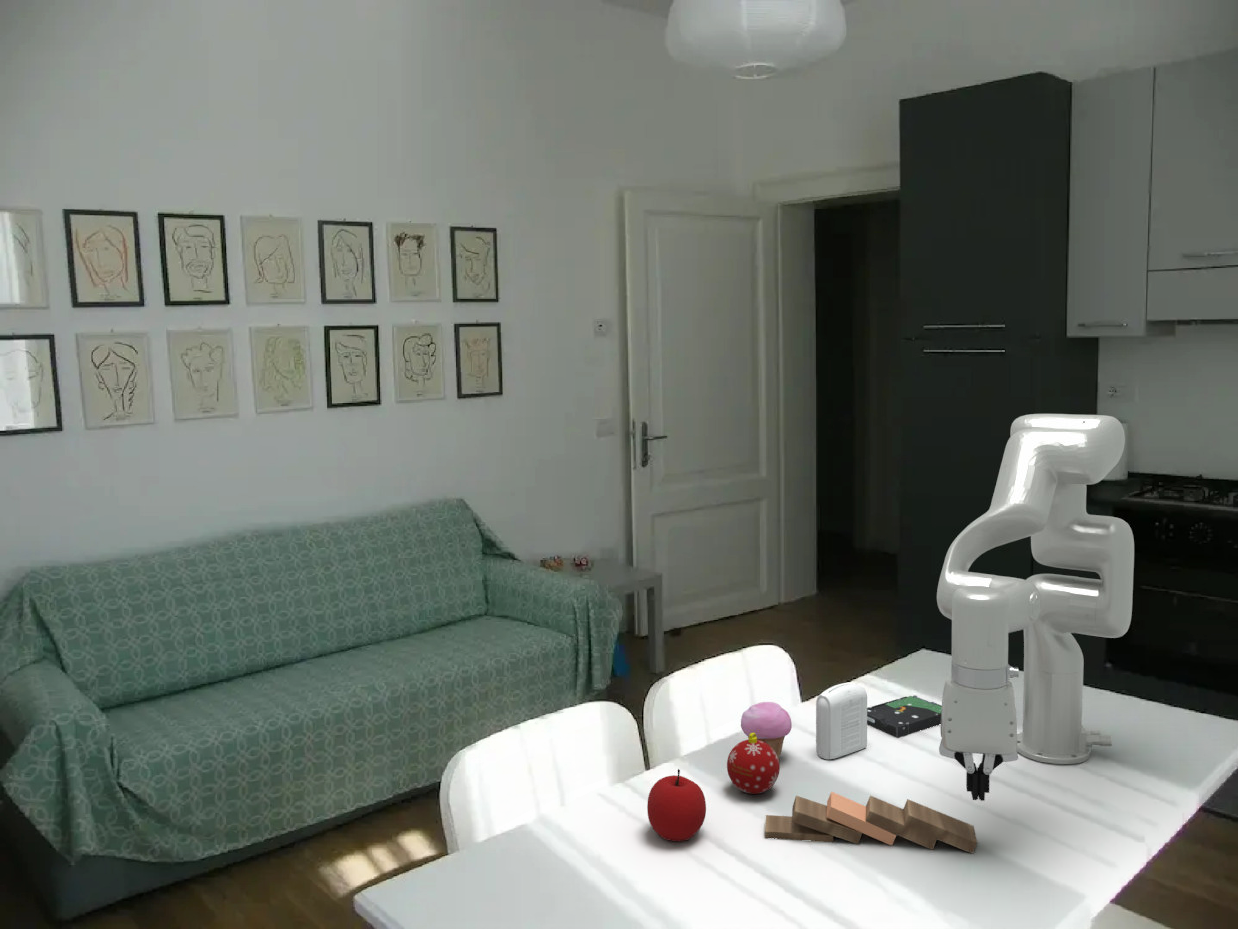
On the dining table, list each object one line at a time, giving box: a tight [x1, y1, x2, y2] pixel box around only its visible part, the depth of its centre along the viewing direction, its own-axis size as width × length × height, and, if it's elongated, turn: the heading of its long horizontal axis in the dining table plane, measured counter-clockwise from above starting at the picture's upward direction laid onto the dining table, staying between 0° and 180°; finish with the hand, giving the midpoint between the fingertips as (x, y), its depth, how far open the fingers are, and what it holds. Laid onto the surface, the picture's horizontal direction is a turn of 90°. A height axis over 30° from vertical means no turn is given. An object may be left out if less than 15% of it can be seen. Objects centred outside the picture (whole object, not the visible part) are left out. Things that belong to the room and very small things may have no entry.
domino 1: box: [764, 814, 834, 843], centre depth 150 cm, size 2×5×10 cm
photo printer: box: [815, 682, 868, 761], centre depth 177 cm, size 10×4×12 cm, turn 123°
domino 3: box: [826, 791, 897, 846], centre depth 148 cm, size 2×5×10 cm
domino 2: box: [791, 795, 863, 845], centre depth 148 cm, size 2×5×10 cm
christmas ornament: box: [726, 733, 780, 795], centre depth 163 cm, size 9×9×10 cm
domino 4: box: [865, 795, 938, 850], centre depth 146 cm, size 2×5×10 cm
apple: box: [646, 768, 707, 842], centre depth 150 cm, size 9×9×10 cm
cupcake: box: [740, 701, 793, 760], centre depth 175 cm, size 9×9×10 cm
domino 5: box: [902, 798, 978, 854], centre depth 145 cm, size 2×5×10 cm
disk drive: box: [867, 695, 942, 739], centre depth 190 cm, size 10×3×15 cm
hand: (977, 796), depth 143 cm, fingers closed
